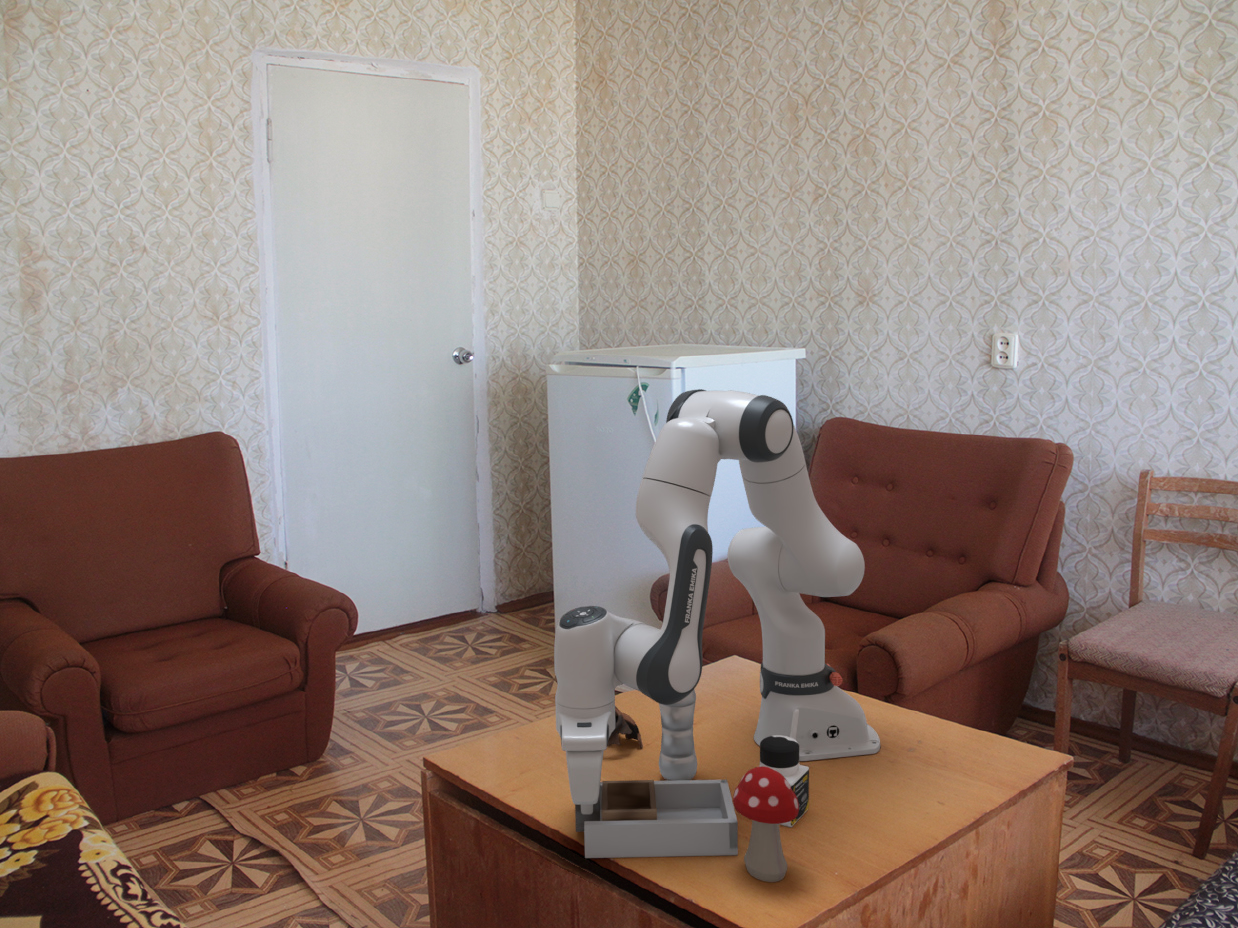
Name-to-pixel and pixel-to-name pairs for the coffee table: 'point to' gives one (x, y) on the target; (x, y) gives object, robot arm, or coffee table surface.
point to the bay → (671, 824)
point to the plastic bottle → (678, 740)
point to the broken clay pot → (624, 729)
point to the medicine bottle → (787, 768)
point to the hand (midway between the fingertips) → (587, 805)
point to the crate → (622, 803)
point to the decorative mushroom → (765, 820)
